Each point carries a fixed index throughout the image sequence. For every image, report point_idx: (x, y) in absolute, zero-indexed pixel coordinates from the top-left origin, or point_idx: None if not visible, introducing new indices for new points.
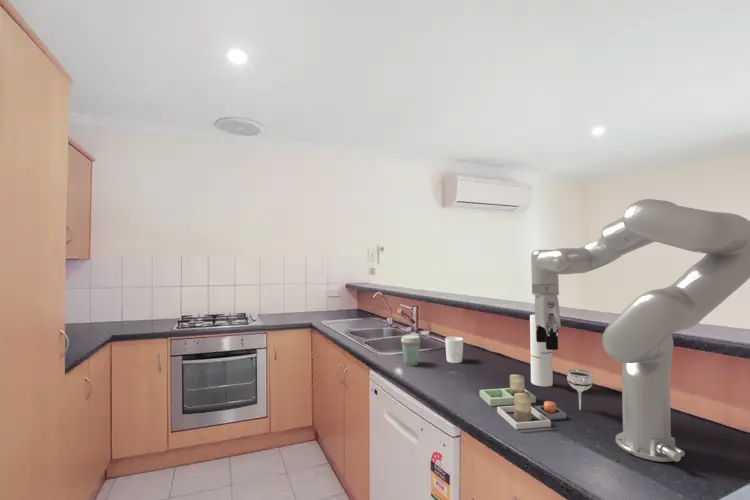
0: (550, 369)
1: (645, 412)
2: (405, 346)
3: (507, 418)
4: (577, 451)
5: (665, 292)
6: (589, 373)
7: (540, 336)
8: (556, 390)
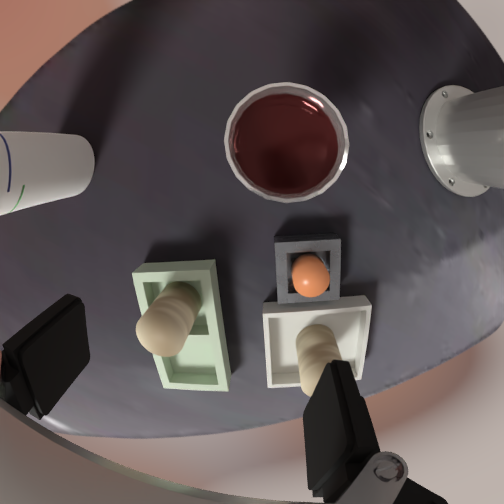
0: (52, 146)
1: None
2: None
3: None
4: (444, 287)
5: None
6: (285, 87)
7: (66, 368)
8: (104, 135)
